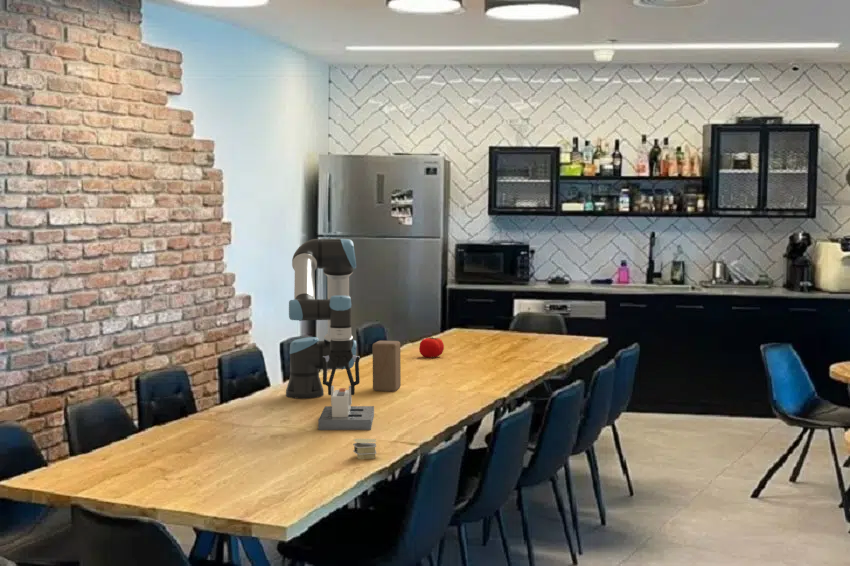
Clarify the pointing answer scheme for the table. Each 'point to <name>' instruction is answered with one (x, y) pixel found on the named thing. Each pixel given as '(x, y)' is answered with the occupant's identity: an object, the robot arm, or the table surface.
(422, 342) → the tomato
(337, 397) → the light grey box
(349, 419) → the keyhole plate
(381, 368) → the wooden block
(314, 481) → the table surface
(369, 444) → the building
